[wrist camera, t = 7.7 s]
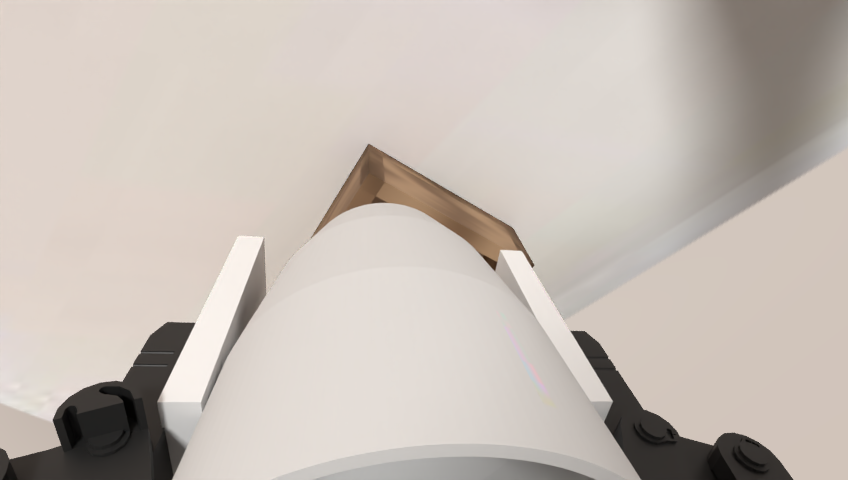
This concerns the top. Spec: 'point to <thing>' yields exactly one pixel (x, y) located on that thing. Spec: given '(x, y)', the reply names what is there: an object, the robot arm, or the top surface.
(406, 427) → the cup
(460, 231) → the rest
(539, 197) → the top surface
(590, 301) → the top surface
